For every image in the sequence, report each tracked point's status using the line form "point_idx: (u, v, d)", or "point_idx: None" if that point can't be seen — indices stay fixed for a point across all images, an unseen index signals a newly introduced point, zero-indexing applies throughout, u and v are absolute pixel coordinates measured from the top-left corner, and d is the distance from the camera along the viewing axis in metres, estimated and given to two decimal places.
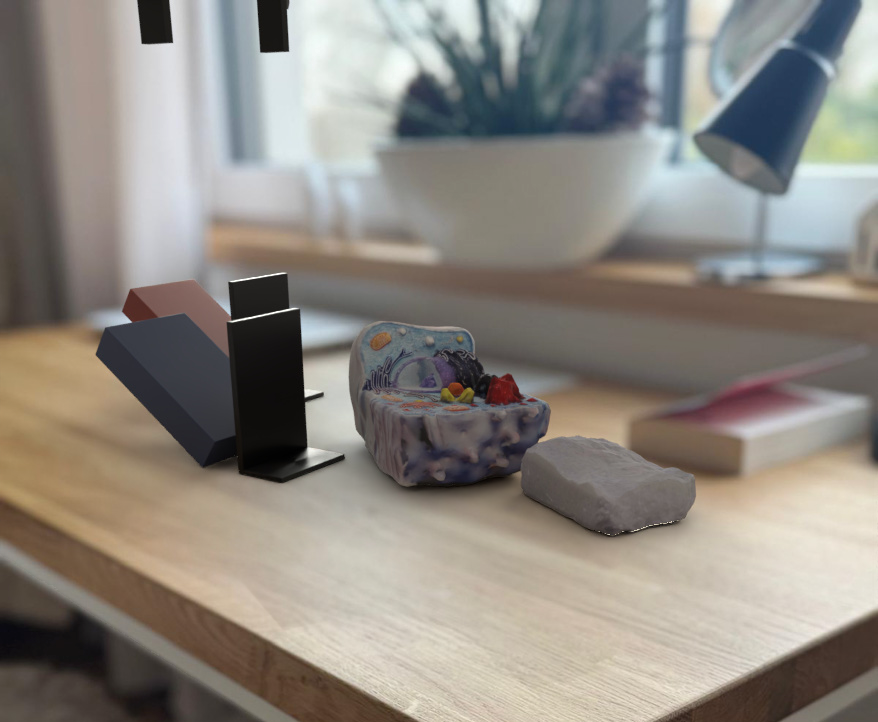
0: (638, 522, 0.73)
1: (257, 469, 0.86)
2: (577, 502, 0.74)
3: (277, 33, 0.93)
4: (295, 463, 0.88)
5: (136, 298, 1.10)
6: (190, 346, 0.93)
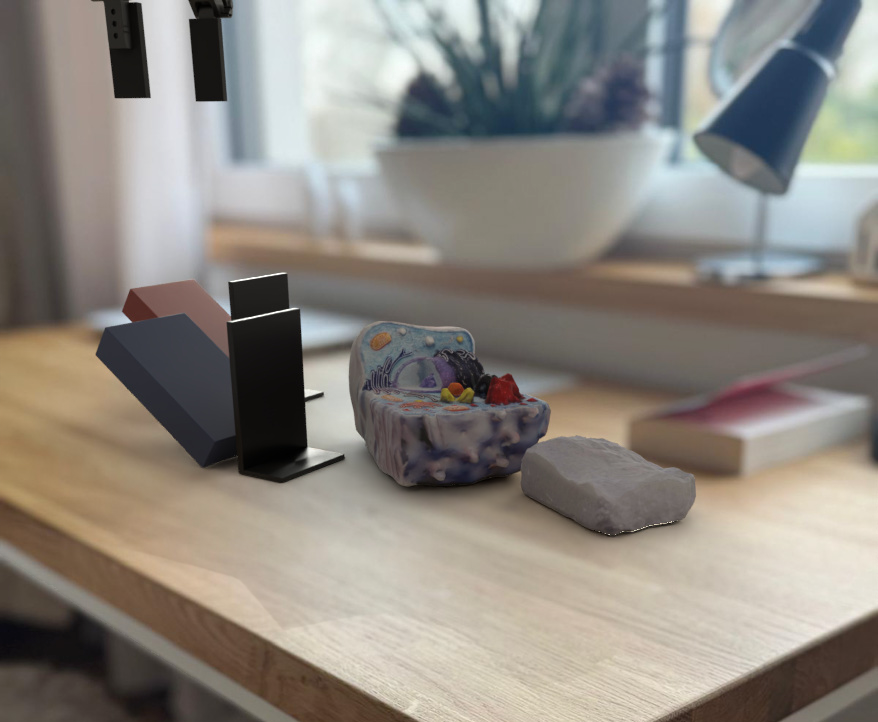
0: (638, 522, 0.73)
1: (257, 469, 0.86)
2: (577, 501, 0.74)
3: (216, 83, 0.94)
4: (295, 463, 0.88)
5: (136, 298, 1.10)
6: (190, 346, 0.93)
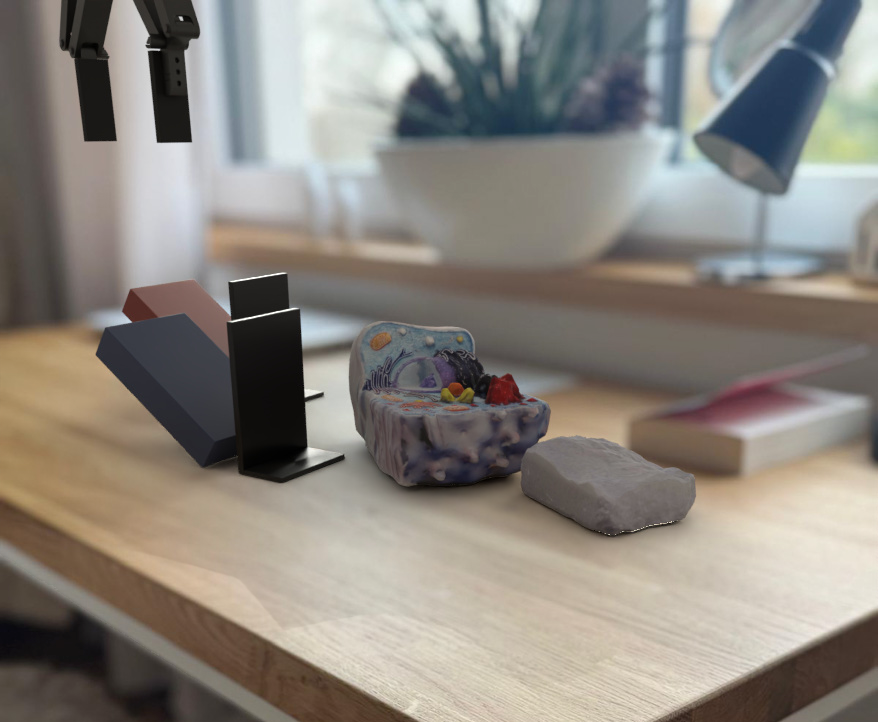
0: (638, 522, 0.73)
1: (257, 469, 0.86)
2: (577, 501, 0.74)
3: (108, 124, 0.95)
4: (295, 463, 0.88)
5: (136, 298, 1.10)
6: (190, 346, 0.93)
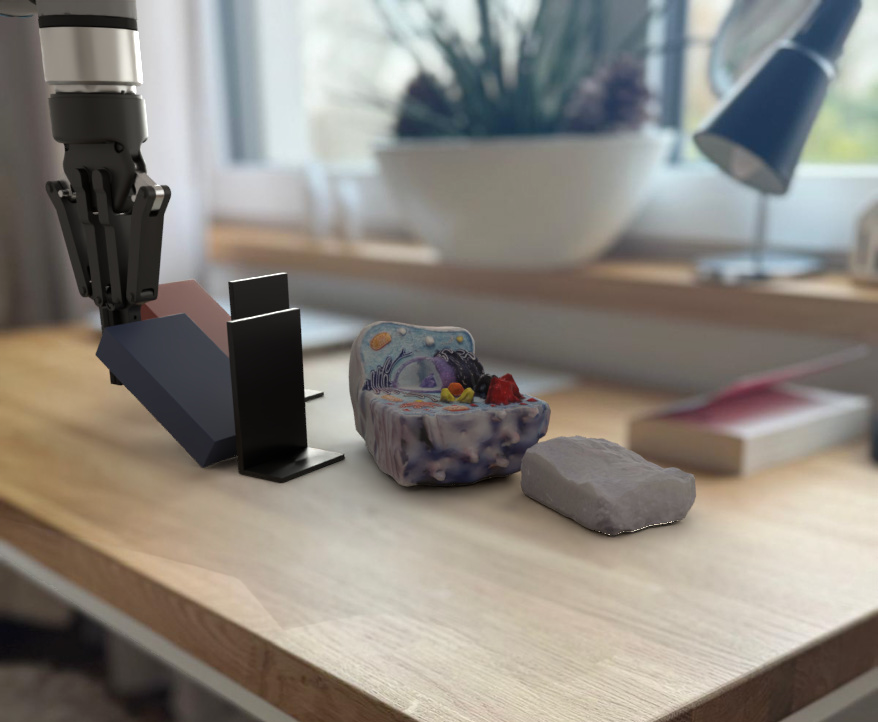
0: (638, 522, 0.73)
1: (257, 469, 0.86)
2: (577, 501, 0.74)
3: None
4: (295, 463, 0.88)
5: None
6: (190, 346, 0.93)
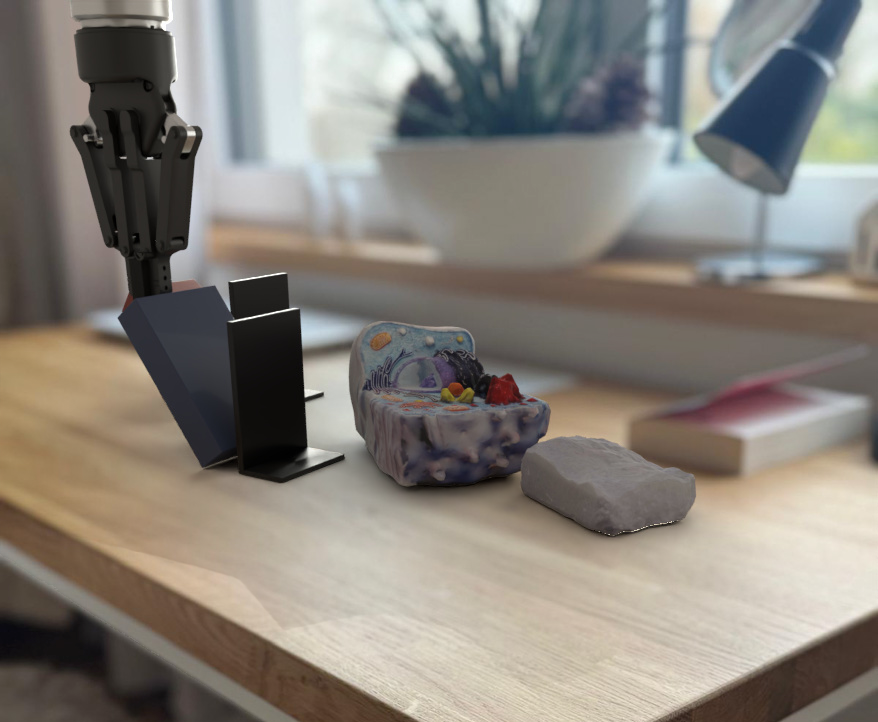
0: (638, 522, 0.73)
1: (257, 469, 0.86)
2: (577, 502, 0.74)
3: None
4: (295, 463, 0.88)
5: None
6: (214, 330, 0.91)
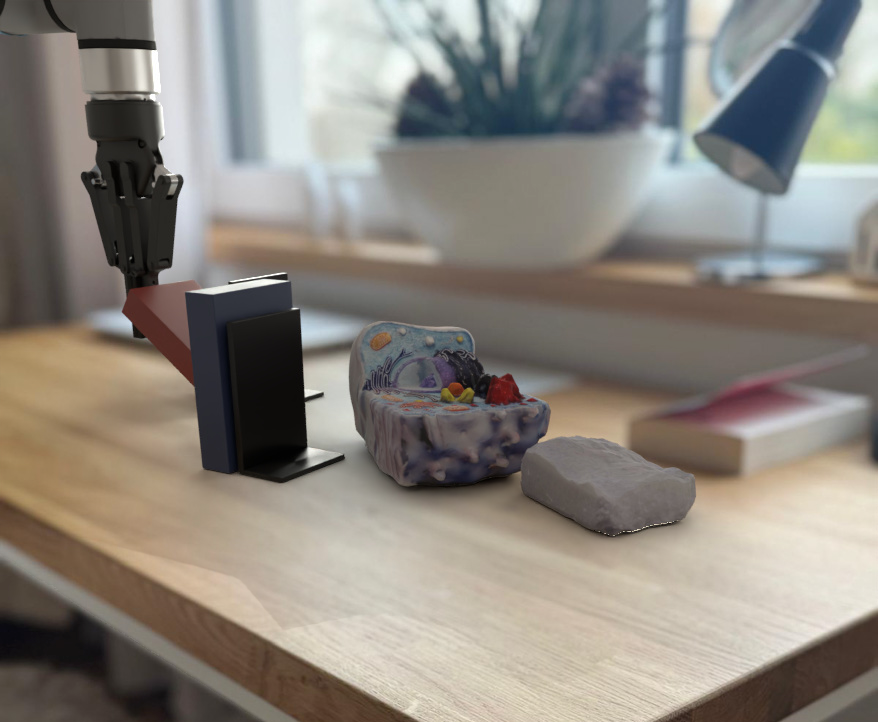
0: (638, 522, 0.73)
1: (257, 469, 0.86)
2: (577, 502, 0.74)
3: None
4: (295, 463, 0.88)
5: (136, 299, 1.10)
6: None
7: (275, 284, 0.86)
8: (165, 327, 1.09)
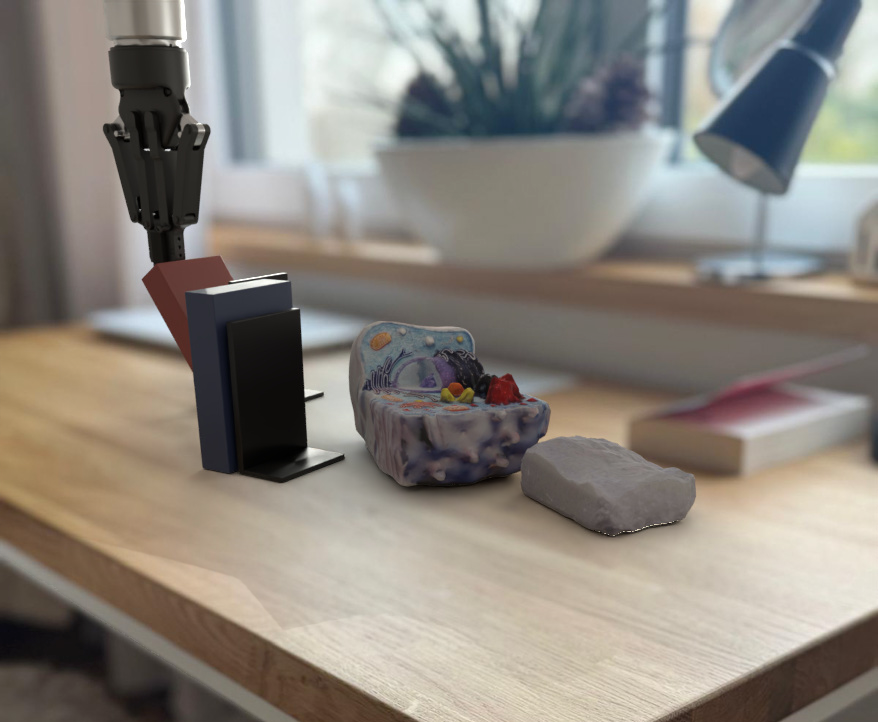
0: (638, 522, 0.73)
1: (257, 469, 0.86)
2: (577, 502, 0.74)
3: None
4: (295, 463, 0.88)
5: (160, 276, 1.07)
6: None
7: (275, 284, 0.86)
8: (183, 316, 1.07)
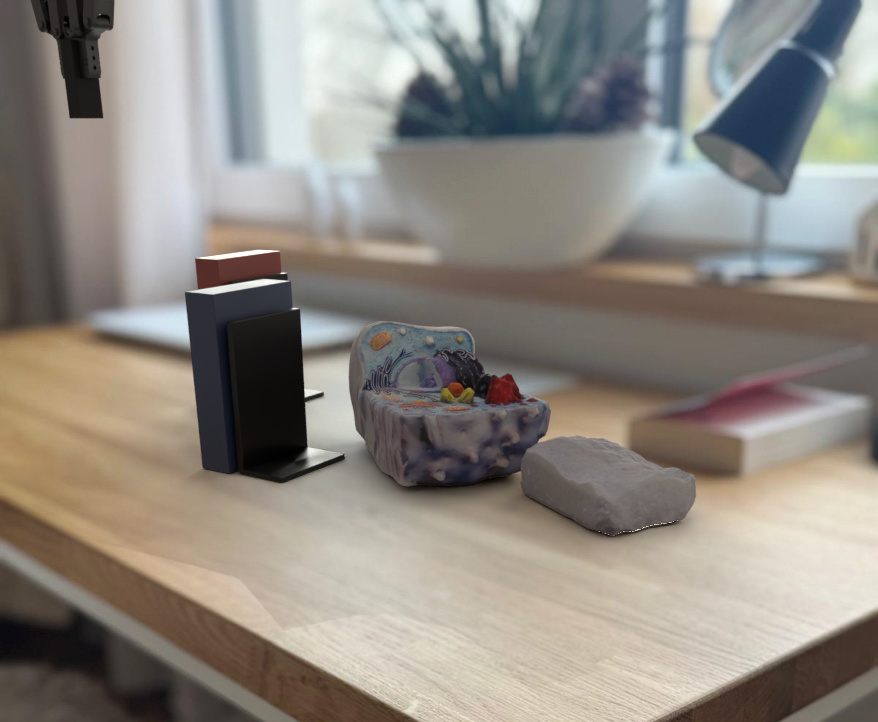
0: (638, 522, 0.73)
1: (257, 469, 0.86)
2: (577, 502, 0.74)
3: None
4: (295, 463, 0.88)
5: (216, 272, 1.03)
6: None
7: (275, 284, 0.86)
8: None
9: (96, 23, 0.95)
